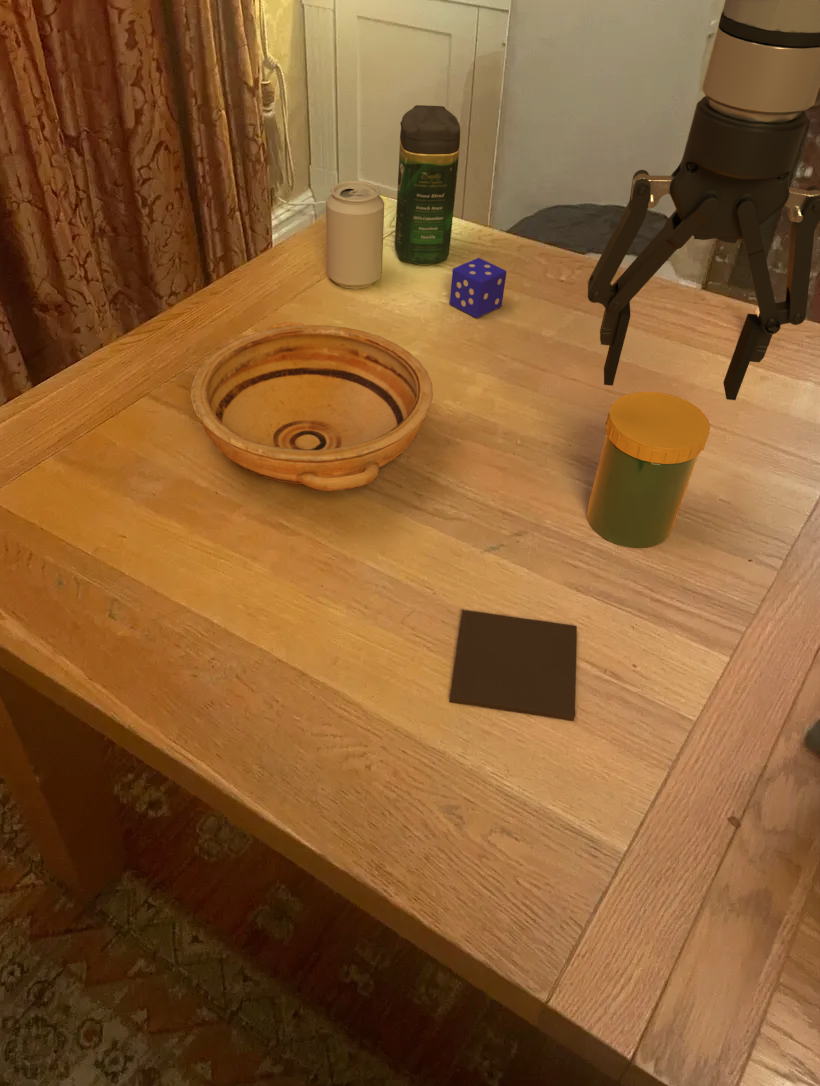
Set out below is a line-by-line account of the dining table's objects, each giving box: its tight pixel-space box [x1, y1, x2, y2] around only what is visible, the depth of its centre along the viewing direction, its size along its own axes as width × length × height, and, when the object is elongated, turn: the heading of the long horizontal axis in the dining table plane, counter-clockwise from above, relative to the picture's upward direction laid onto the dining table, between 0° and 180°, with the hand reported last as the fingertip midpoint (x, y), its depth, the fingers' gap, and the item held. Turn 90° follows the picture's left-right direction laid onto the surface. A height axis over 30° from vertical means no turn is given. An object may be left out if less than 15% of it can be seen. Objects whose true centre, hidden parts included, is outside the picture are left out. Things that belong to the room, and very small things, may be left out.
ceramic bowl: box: [190, 321, 434, 492], centre depth 94 cm, size 30×24×8 cm
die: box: [449, 257, 507, 319], centre depth 117 cm, size 5×5×5 cm
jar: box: [586, 432, 699, 549], centre depth 86 cm, size 8×8×12 cm
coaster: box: [448, 609, 578, 722], centre depth 76 cm, size 10×10×1 cm
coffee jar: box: [394, 104, 461, 266], centre depth 123 cm, size 10×8×19 cm
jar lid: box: [605, 391, 711, 464], centre depth 82 cm, size 9×9×2 cm
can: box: [325, 180, 385, 290], centre depth 119 cm, size 8×8×12 cm
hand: (668, 384), depth 79 cm, fingers open, 10 cm apart
